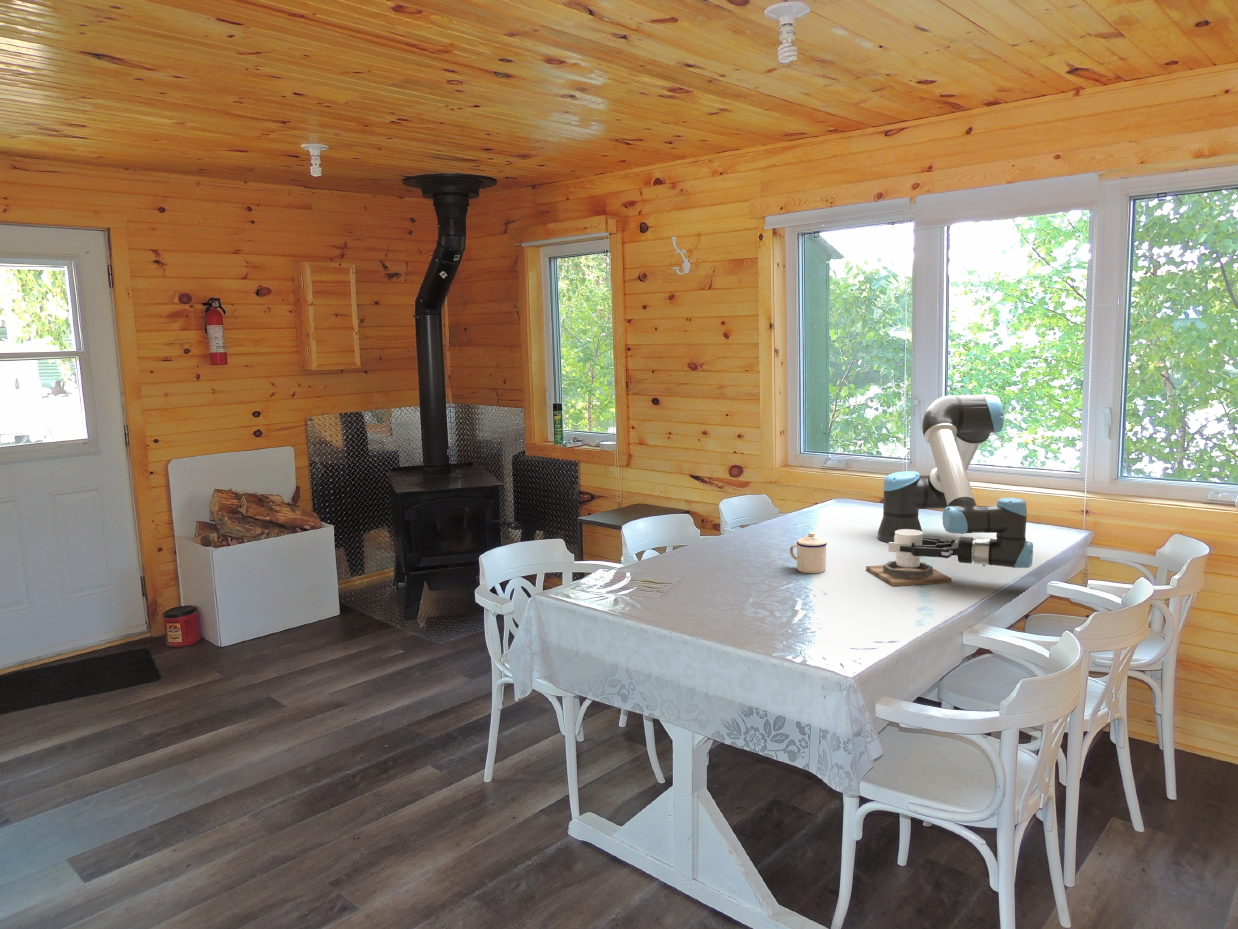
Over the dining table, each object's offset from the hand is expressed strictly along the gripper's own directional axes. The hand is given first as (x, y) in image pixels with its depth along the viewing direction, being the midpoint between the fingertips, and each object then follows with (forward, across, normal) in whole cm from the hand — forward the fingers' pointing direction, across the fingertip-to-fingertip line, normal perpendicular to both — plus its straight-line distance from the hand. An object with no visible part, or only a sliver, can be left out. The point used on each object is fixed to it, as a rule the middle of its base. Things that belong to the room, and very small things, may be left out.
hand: (891, 543), depth 265 cm
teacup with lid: (+24, -4, -10) cm, 27 cm away
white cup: (-5, 0, -6) cm, 8 cm away
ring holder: (-5, 0, -9) cm, 11 cm away
